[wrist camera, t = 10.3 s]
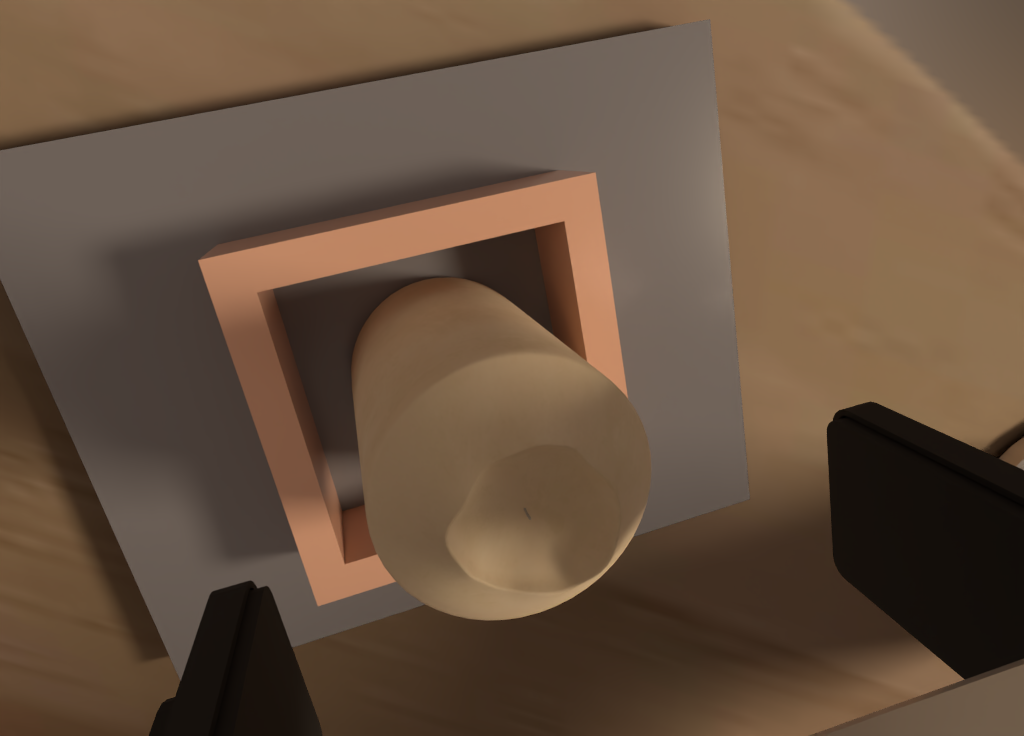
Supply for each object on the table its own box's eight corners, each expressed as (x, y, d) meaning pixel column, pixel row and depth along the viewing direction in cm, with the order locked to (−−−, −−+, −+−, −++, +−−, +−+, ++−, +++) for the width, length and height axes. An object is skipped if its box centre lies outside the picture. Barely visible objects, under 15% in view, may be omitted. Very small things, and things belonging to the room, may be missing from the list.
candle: (336, 441, 21) (345, 672, 11) (366, 259, 19) (402, 353, 10) (511, 458, 22) (643, 673, 13) (549, 291, 21) (725, 398, 12)
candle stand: (684, 28, 21) (772, -3, 17) (727, 481, 27) (802, 542, 22) (-23, 159, 18) (-132, 160, 13) (190, 651, 23) (159, 761, 19)
